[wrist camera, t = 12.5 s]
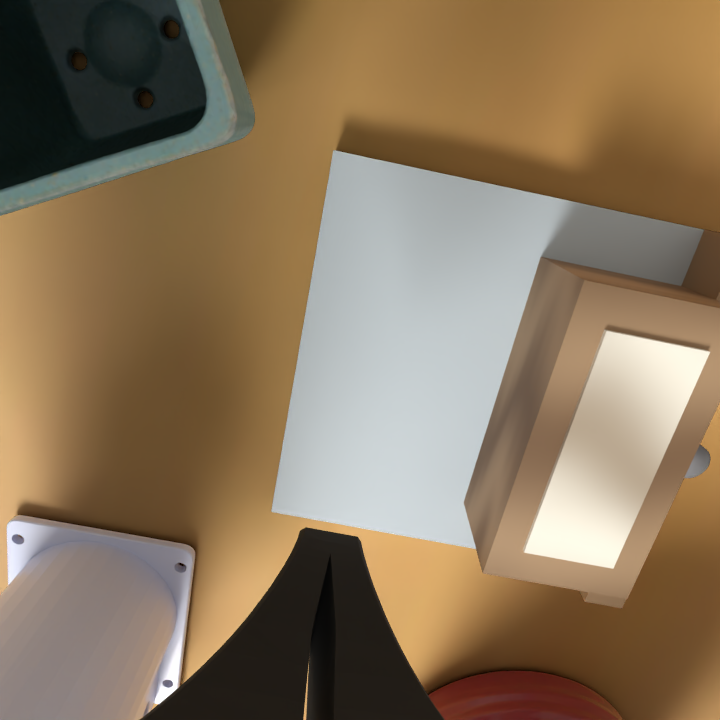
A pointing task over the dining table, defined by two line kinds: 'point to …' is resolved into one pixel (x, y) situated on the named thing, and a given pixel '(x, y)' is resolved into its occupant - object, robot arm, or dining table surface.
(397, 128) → the dining table surface
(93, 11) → the flower pot
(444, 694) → the canister
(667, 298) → the frame
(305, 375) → the wall panel
